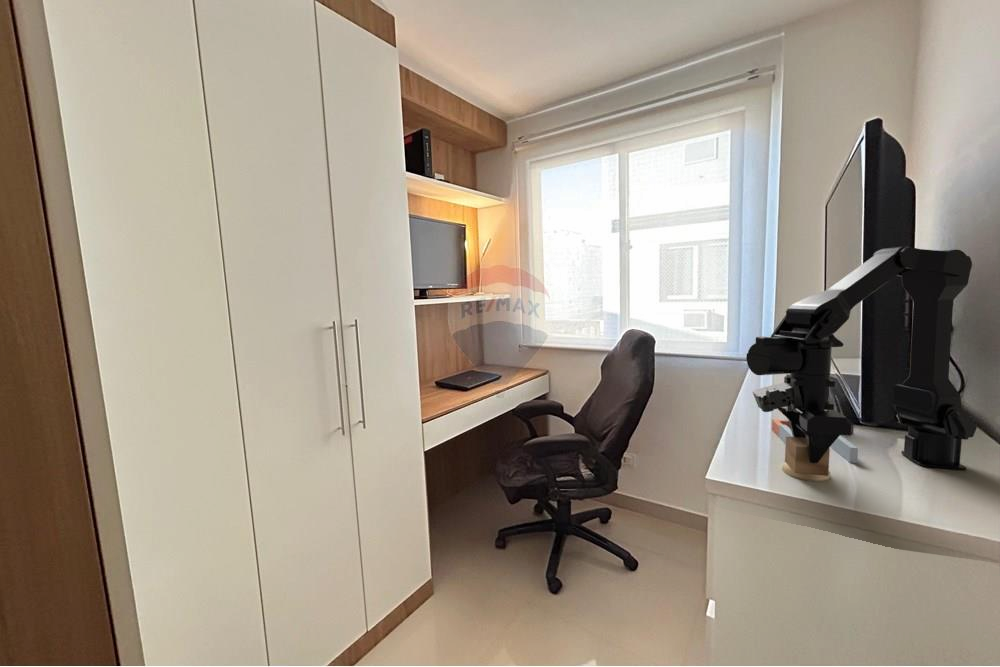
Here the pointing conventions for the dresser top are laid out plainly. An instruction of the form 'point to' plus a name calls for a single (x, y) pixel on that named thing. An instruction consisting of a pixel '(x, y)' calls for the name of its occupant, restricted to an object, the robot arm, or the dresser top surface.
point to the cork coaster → (804, 476)
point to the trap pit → (777, 423)
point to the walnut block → (804, 458)
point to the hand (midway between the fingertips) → (806, 455)
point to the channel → (839, 446)
